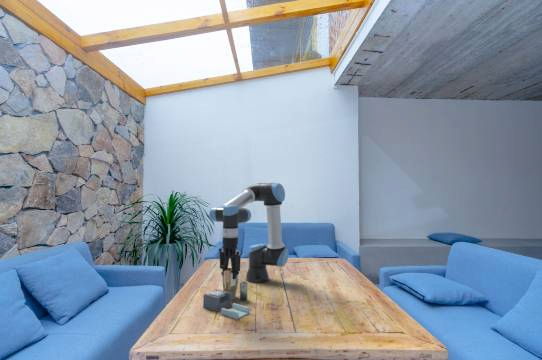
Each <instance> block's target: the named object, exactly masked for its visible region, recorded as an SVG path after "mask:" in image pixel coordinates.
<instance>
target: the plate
mask: <svg viewBox="0 0 542 360" xmlns="http://www.w3.org/2000/svg"><path fill="white" fill-rule="evenodd" d="M218 290H219V289H218ZM218 290H217V291H216V290H215V291H211V292H209V293H208V294H209V295H213V296H216V297H220V298H221V297H223V296H226V293H225V292H222V291H223V290H222V291H218Z"/></svg>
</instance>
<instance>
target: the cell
mask: <svg viewBox="0 0 542 360" xmlns="http://www.w3.org/2000/svg"><path fill="white" fill-rule="evenodd" d="M231 268H232V267H228V269H225V289H227V290H230V289H233V286H231V272H232V269H231Z"/></svg>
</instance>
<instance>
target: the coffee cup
mask: <svg viewBox="0 0 542 360" xmlns="http://www.w3.org/2000/svg"><path fill="white" fill-rule="evenodd" d="M230 268H231V269H232V267H230ZM234 270H235V269H234ZM239 274H240V271H238V272H237V276H236V277H237V278H236V285H234V286H233V289H230V290H227V289H225V285H224V277H223V270H222V271H221V275H222V276H221V277H222V280H221V281H222V288H223V289H222V291H226V292H230V293H231V300H233V299H236V296H237V290H238V283H239V282H238V281H239Z"/></svg>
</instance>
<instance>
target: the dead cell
mask: <svg viewBox="0 0 542 360" xmlns="http://www.w3.org/2000/svg"><path fill="white" fill-rule="evenodd" d="M239 301H240V302H247V301H248V281H247V282H246V281H242V282H239Z"/></svg>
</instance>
